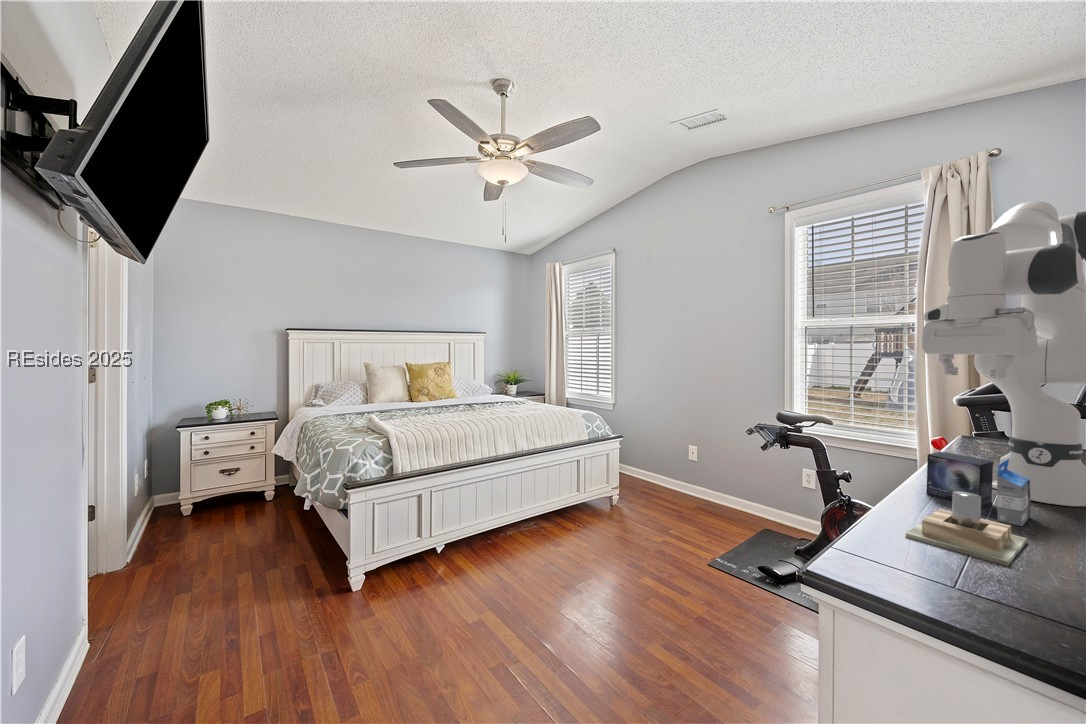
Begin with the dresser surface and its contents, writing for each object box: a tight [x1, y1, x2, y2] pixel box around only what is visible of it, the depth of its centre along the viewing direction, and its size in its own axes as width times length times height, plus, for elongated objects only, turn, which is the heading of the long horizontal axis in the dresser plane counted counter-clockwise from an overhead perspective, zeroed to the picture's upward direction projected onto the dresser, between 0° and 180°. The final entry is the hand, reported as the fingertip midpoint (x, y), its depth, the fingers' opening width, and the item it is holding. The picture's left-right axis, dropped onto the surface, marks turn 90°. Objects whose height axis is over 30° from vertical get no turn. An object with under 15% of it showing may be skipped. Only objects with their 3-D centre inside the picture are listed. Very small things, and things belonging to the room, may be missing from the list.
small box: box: [925, 451, 994, 508], centre depth 108 cm, size 11×6×10 cm, turn 23°
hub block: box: [905, 508, 1028, 567], centre depth 85 cm, size 16×14×3 cm
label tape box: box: [996, 459, 1031, 527], centre depth 95 cm, size 9×4×12 cm, turn 124°
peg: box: [951, 491, 982, 531], centre depth 85 cm, size 4×4×8 cm
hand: (973, 376), depth 93 cm, fingers open, 8 cm apart
